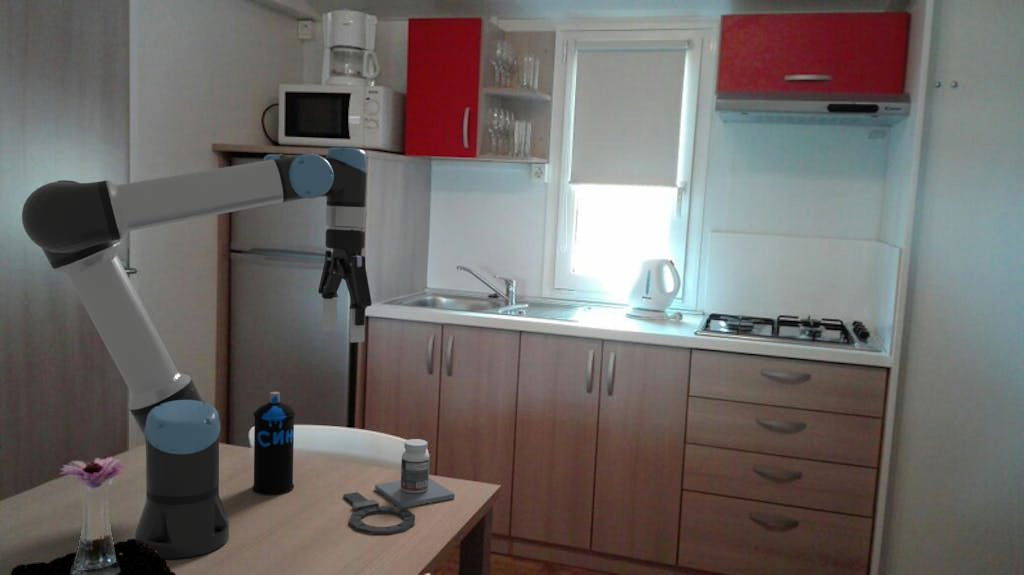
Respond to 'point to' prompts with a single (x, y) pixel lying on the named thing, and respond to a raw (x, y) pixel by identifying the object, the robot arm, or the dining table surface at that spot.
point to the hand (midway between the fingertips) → (342, 336)
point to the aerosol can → (273, 447)
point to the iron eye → (372, 507)
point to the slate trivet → (414, 494)
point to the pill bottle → (415, 466)
